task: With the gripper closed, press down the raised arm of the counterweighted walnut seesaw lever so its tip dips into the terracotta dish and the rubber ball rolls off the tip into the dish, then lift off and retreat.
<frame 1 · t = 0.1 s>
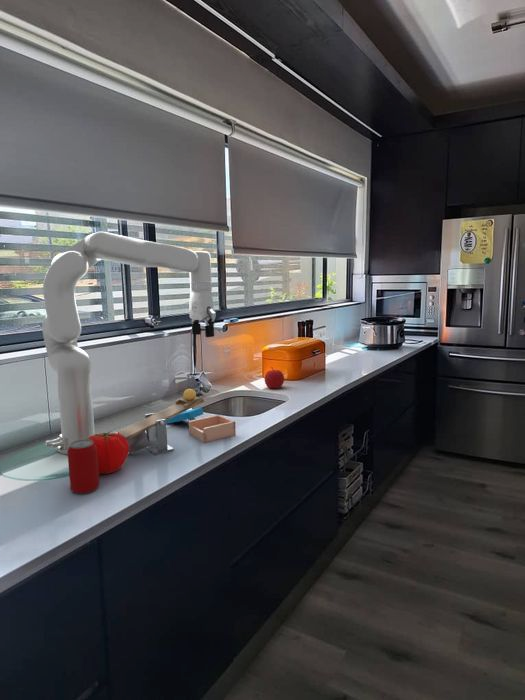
hand: (203, 335, 168), 31 cm above the table, fingers open, 9 cm apart
tomato: (106, 470, 129), on the table
dish: (212, 434, 157), on the table
fulcrum: (157, 447, 145), on the table
lever: (163, 421, 146), point 8 cm above the table, hinge at 15.0°, touching ball
beverage can: (85, 490, 117), on the table
apple: (274, 388, 222), on the table
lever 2: (187, 425, 168), on the table
ball: (189, 395, 150), point 15 cm above the table, touching lever
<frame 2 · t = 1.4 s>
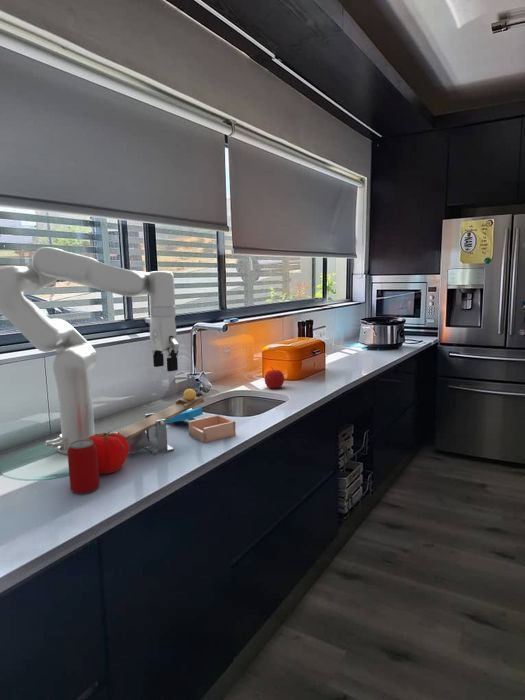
hand: (165, 368, 145), 24 cm above the table, fingers open, 9 cm apart
nothing on the table moved.
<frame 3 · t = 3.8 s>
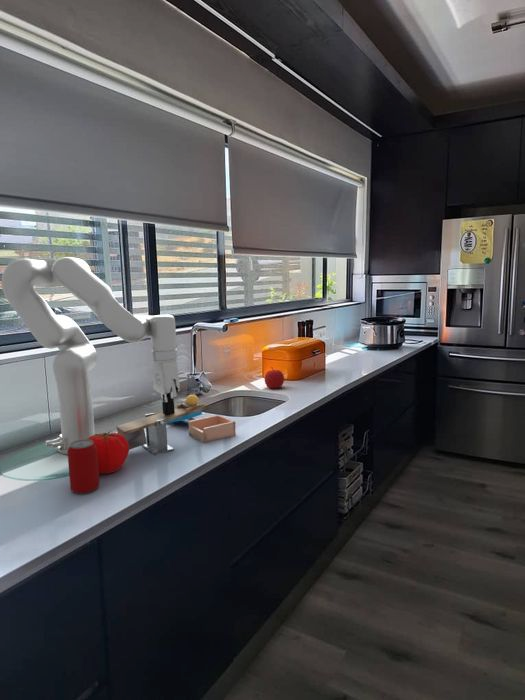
hand: (168, 413, 146), 10 cm above the table, fingers closed
lever: (163, 423, 146), point 7 cm above the table, hinge at 5.7°, touching ball, gripper
ball: (192, 400, 151), point 13 cm above the table, tilted 11°, touching lever
everything else where it was.
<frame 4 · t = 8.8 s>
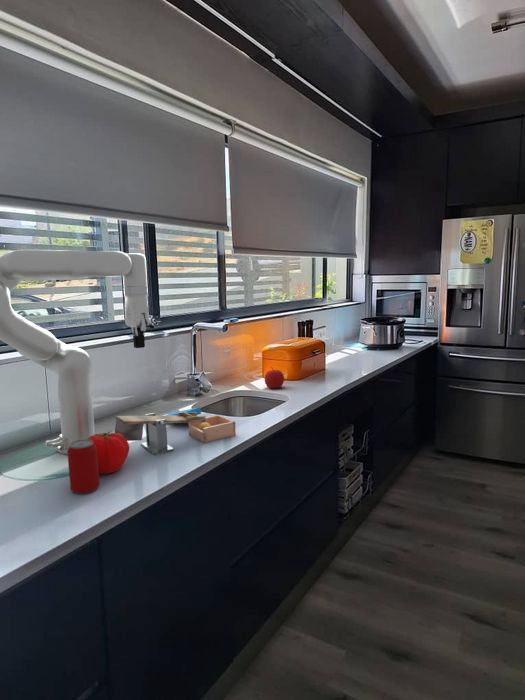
hand: (139, 347, 157), 29 cm above the table, fingers closed
lever: (161, 425, 145), point 7 cm above the table, hinge at -10.1°
ball: (205, 428, 155), point 3 cm above the table, tilted 171°, touching dish
everything else where it was.
at the end: ball inside the target area on the dish (2.6 cm from its centre), point 2.6 cm above the dish's base; the gripper is holding nothing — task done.
